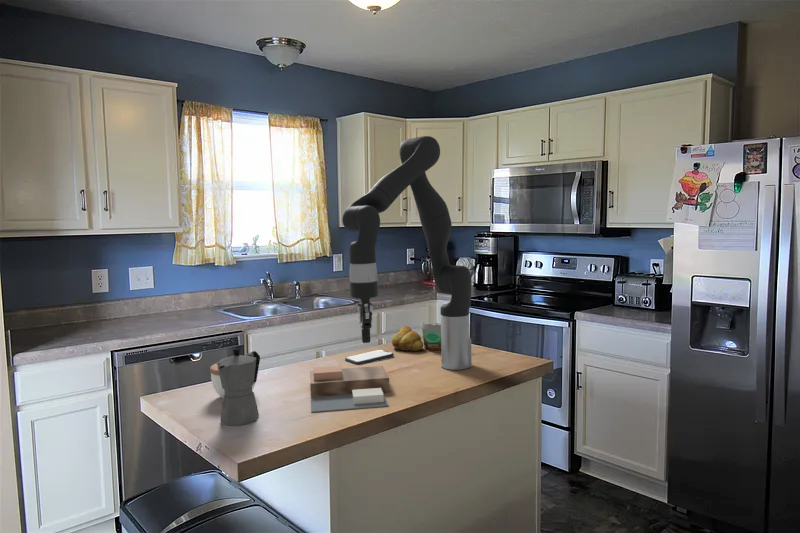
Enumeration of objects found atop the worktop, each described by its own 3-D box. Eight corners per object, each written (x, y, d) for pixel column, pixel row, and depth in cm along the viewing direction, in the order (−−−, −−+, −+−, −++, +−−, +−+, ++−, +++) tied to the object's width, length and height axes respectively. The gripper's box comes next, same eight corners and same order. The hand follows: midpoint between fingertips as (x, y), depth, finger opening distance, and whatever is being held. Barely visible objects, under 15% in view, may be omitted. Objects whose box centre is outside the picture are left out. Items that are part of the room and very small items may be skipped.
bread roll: (429, 350, 203) (428, 328, 202) (408, 354, 197) (408, 332, 196) (407, 344, 213) (406, 324, 213) (387, 348, 207) (386, 327, 207)
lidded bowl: (256, 401, 150) (254, 362, 149) (208, 405, 148) (205, 365, 147) (260, 388, 162) (258, 351, 161) (215, 391, 160) (213, 354, 159)
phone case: (357, 367, 185) (395, 357, 195) (357, 362, 185) (395, 353, 194) (343, 362, 192) (380, 353, 202) (343, 357, 192) (380, 348, 201)
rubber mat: (382, 392, 155) (382, 391, 155) (388, 406, 144) (388, 405, 144) (310, 398, 152) (310, 397, 152) (311, 412, 140) (311, 411, 140)
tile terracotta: (341, 372, 162) (340, 365, 162) (342, 378, 156) (342, 371, 156) (313, 374, 161) (313, 367, 161) (313, 380, 155) (313, 373, 155)
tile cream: (383, 394, 146) (383, 401, 146) (380, 387, 152) (381, 394, 152) (353, 396, 145) (353, 404, 145) (352, 389, 151) (352, 396, 151)
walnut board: (383, 378, 169) (382, 365, 168) (389, 391, 156) (389, 377, 155) (310, 383, 165) (310, 370, 165) (310, 397, 152) (310, 383, 152)
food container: (418, 352, 200) (417, 325, 200) (420, 348, 207) (420, 321, 206) (452, 352, 198) (452, 325, 198) (453, 348, 204) (453, 322, 204)
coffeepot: (238, 431, 129) (234, 356, 128) (206, 426, 133) (202, 353, 131) (276, 409, 144) (273, 341, 142) (246, 405, 147) (243, 339, 145)
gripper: (380, 281, 143) (383, 346, 145) (374, 276, 156) (376, 336, 158) (351, 283, 142) (354, 349, 144) (347, 277, 155) (350, 337, 157)
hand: (366, 342), depth 151 cm, fingers closed
